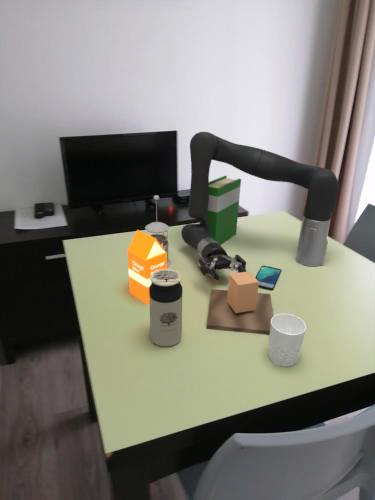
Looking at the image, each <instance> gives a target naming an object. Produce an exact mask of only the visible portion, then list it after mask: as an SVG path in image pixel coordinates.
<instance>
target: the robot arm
mask: <svg viewBox="0 0 375 500" xmlns="http://www.w3.org/2000/svg"><path fill="white" fill-rule="evenodd" d="M189 152H190V153H189V154H190V166H191V167H190V169H191V171H190V173H191V175H190V176H191V177H190V186H189V187H190V188H189V197H188V198H189V199H188V210H187V211H188V216H189V217H190V218H192V219H194V220H198V221H199V223H187V224H185V225H183V227H182V229H181V234H180V236H181V238H182V240H183V242H184V243H185V244H186V245H188V246H190V247H191V248H193V249H195V250H196V252H198V255H199V257H200V258H201V259H198V269H199V271H200V273H201V275H203V276H207V275H209V276H210V277H211V278H212V279H213V280H215V281H216V282H217V281H219V280H220V279H219V278H220V275H219V273H218V271H221V270H229V271H237V273H241V272H247V269H246V268H247V267H246V266H247V261H246V260H245V259H243V258H242V257H241V256H240V255H239V254H235V255H234V257H233V256H229V255H228V253H227V251H226V250H225V248H223V247H222V246H221V245H222V244H221V245H220V244H219V243H218V242H217V241H215V240H214V239H213V238H212V237H211V236H210V229H209V223H208V214H207V212H208V202H209V182H210V170H211V169H210V168H211V163H212V161H216V162H220V163H225V164H227V165H230V166H232V167H233V168H235V169H237V170H239V171H241V172H243V173H246V174H248V175H250V176H253V177H256V178H259V179H262V180H266V181H271V182H279V183H281V182H282V183H289V184H294V185H296V186H300V187H302V188H304V189H306V190H307V193H306V194H307V195H306V201H305V205H304V209H303V214H302V220H301V225H300V231H299V237H298V242H297V247H296V253H295V261H296V262H298V263H299V264H301V265H303V266H307V267H318V266H324V263H325V257H326V252H327V248H328V247H327V246H328V242H329V241H328V235H329V230H330V225H331V220H332V215H333V213H334V211H335V206H336V203H337V198H338V193H339V188H340V185H339V184H340V183H339V180H338V177H337V175H336V174H335V173H334V172H333V171H332V170H330V169H328V168H326V167H325V168H324V167H321V166H320V167H319V166H315V165H310V164H305V163H301V162H298V161H296V160H293V159H291V158H288V157H285V156H283V155H280V154H278V153H274V152H271V151H268V150H266V149H262V148H259V147H254V146H250V145H244V144H239V143H234V142H232V141H229V140H226V139H223V138H222V137H219V136H217V135H215V134H213V133H210V132H208V131H200V132H197V133H195V134H194V135H193V136H192V137H191V138H190V142H189ZM217 270H218V271H217Z"/></svg>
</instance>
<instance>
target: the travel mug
mask: <svg viewBox="0 0 375 500" xmlns="http://www.w3.org/2000/svg"><path fill="white" fill-rule="evenodd" d="M182 277H183V275H182V274H181V272H179V271H177V270H175V269H172V268H171V269H170V268H167V269H161V270H157V271H155V272H153V273H152V274H151V275H150V280H151V282H152V283H151V285H150V287H149V302H150V304H149V326H150V329H149V331H150V339H151V341H152V342H153V343H154V344H155V345H157V346H159V347H172V346H174V345H177V344H178V343H179V342H180V341H181V339H182V335H183V331H182V330H183V329H182V328H183V327H182V326H183V286H182V284H181V280H182Z"/></svg>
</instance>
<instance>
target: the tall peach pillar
mask: <svg viewBox="0 0 375 500" xmlns="http://www.w3.org/2000/svg"><path fill="white" fill-rule="evenodd" d="M255 277H256V276H254V275H253V273H251V272H250V271H246V272H241V273H239V272H235V273H229V275H228V283H227V284H228V285H227V290H228V296H227V302H228V303H229V305H230V306H231V307H232V309H233V310H234V312H235V313H240V312H246V311H251V310H256V302H257V294H258V293H259V288H258V286H259V281H258V280H257V279H256V278H255Z"/></svg>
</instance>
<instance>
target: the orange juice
mask: <svg viewBox="0 0 375 500" xmlns="http://www.w3.org/2000/svg"><path fill="white" fill-rule="evenodd" d="M150 235H151V234H148V233H145V232H143V231H141V230H139V229H137V230H136V232H135V234H134V235H133V237H132V240H131V242H130V244H129V246H128V249H127V250H126V251H127V262H128V263H127V264H128V279H129V280H128V283H129V293H130V294H131V295H133V296H134V297H136V299H137V298H138V299H139V300H140V301H141V302H143V303H144V304H146V305H147V306H148V305H150V302H149V287H150V285H151V283H152V282H151V280H150V275H151V274H152V273H153V272H155V271H157V270H161V269H168V267H167V252H165V250H164V249H163V248H162V246H163V245H162V244H161V245H160V244H159V242H158V241H157V240H156V238H154V237H152V236H150Z"/></svg>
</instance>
